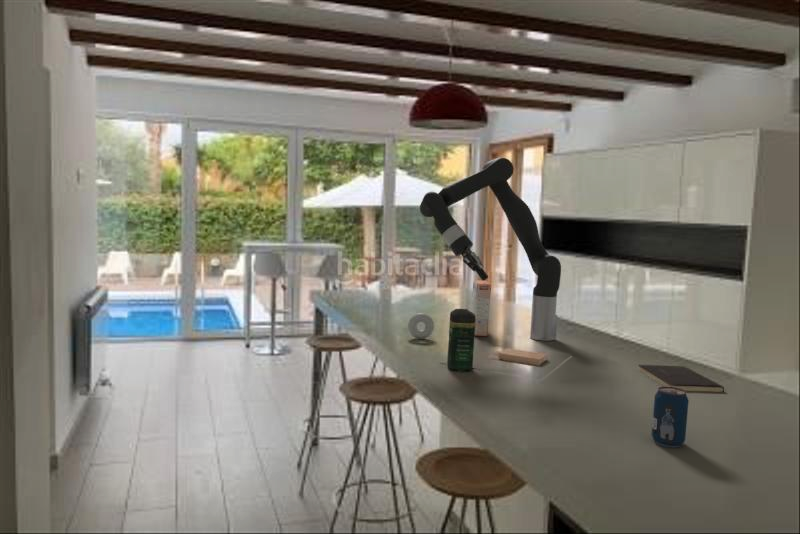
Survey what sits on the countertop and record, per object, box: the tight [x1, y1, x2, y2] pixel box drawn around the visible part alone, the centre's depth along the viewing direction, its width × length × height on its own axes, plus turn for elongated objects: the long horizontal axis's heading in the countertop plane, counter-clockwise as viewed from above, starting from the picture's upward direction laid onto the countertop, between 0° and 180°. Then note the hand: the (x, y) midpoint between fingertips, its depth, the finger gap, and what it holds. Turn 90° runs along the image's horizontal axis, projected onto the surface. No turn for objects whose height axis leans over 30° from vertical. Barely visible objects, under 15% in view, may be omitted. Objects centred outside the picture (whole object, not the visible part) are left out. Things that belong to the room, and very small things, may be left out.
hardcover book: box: [637, 364, 725, 393], centre depth 197 cm, size 16×23×2 cm
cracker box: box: [471, 279, 492, 337], centre depth 257 cm, size 14×6×21 cm, turn 179°
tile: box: [498, 348, 548, 366], centre depth 213 cm, size 2×9×14 cm
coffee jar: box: [446, 308, 476, 372], centre depth 200 cm, size 10×8×19 cm
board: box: [485, 351, 549, 367], centre depth 214 cm, size 12×18×1 cm, turn 62°
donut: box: [407, 312, 435, 340], centre depth 242 cm, size 10×4×10 cm, turn 95°
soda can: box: [651, 386, 689, 448], centre depth 142 cm, size 7×7×12 cm
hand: (485, 279), depth 224 cm, fingers closed
